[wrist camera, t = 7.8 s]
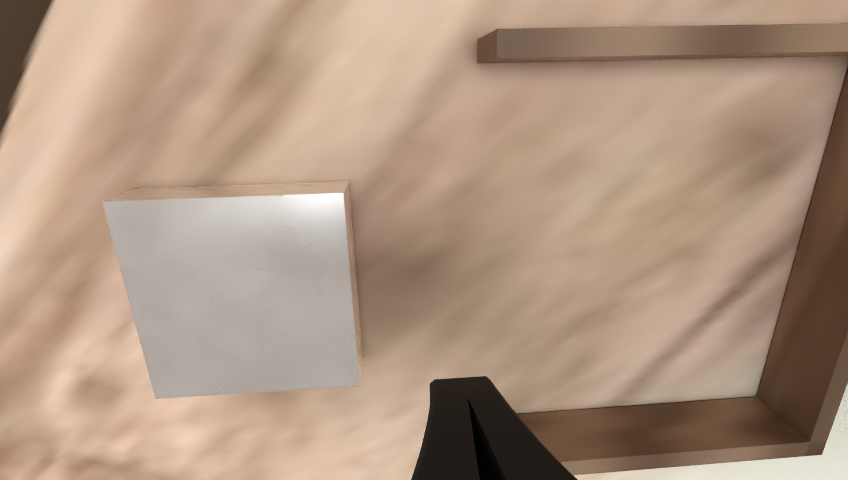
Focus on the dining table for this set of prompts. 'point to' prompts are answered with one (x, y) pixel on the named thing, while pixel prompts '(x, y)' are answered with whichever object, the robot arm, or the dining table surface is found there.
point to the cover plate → (241, 285)
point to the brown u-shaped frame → (802, 306)
